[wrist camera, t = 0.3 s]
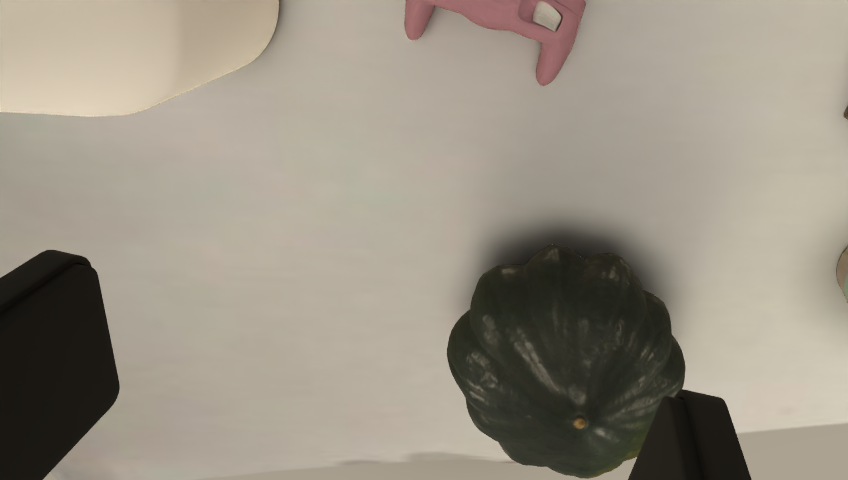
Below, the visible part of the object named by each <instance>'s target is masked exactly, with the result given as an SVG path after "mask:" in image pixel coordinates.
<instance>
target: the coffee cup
mask: <svg viewBox="0 0 848 480" xmlns="http://www.w3.org/2000/svg"><path fill="white" fill-rule="evenodd" d="M837 280H838V283H839V285H840V287H841V289H842V291H843V293H844V296H845V298H846V300H847V302H848V248H847V249H846V250H845V251H844V252H843V254H842V256H841V257H840V259H839V262H838V265H837Z"/></svg>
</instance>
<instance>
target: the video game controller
mask: <svg viewBox="0 0 848 480" xmlns="http://www.w3.org/2000/svg"><path fill="white" fill-rule="evenodd" d="M585 5H586V3H585V0H406V8H405V31H406V34H407V36H408V38H409V39H411V40H416V39H418V38H419V37H421V35H422V33H423V32H424V30H425V28H426V25H427V23H428V21H429V19H430V17H431V14H432V12H433V9H434V7H435V6H438V7H441V8H444V9H447V10H450V11H454V12H457V13H460V14H462V15H463V16H465V17H466V18H468V19H469V20H470V21H472V22H474V23H476V24H477V25H479V26H482V27H485V28H488V29H494V30H508V31H512V32H515V33H517V34H520V35H523V36H525V37H528V38H531V39H534V40H537V41H540V42H541V51H540V55H539V59H538V64H537V68H536V78H537V81H538V83H539V84H540V85H543V86H544V85H547V84H549V83H550V82H551V81H552V80H553V79H554V78H555V77H556V75H557V74H558V72H559V70H560V69H561V67H562V65H563V63H564V62H565V60H566V58H567V56H568V55H569V53H570V51H571V49H572V46H573V44H574V41H575V37H576V34H577V31H578V28H579V24H580V21H581V18H582V15H583V12H584V8H585Z"/></svg>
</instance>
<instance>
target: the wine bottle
mask: <svg viewBox="0 0 848 480" xmlns="http://www.w3.org/2000/svg"><path fill="white" fill-rule="evenodd" d="M278 12H279V0H0V112H12V113H36V114H54V115H69V116H84V117H89V116H120V115H129V114H133V113H136V112H140V111H143V110H146V109H148V108H151V107H153V106H155V105H158V104H160V103H162V102H164V101H167V100H169V99H171V98H173V97H176V96H178V95H180V94H183V93H185V92H187V91H189V90H192V89H194V88H196V87H198V86H201V85H203V84H205V83H208V82H210V81H212V80H214V79H217V78H219V77H221V76H223V75H226V74H228V73H230V72H233V71H235V70H237V69H239V68H242V67H244V66H245V65H247V64H249V63H251V62H252V61H254V60H255V59H256V58H257V57H258V56H259V55H260V54H261V53H262V52H263V50H264V49H265V48H266V46H267V45H268V44H269V42H270V40H271V38H272V36H273V33H274V31H275V28H276V24H277V20H278Z"/></svg>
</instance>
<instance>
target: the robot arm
mask: <svg viewBox="0 0 848 480" xmlns="http://www.w3.org/2000/svg"><path fill="white" fill-rule="evenodd" d="M119 388H120V387H119V380H118V375H117V369H116V364H115V359H114V354H113V349H112V344H111V339H110V334H109V329H108V324H107V319H106V314H105V309H104V304H103V299H102V294H101V289H100V284H99V279H98V275H97V272H96V270H95V269H94V268H92V267H91V264H90V262H89V261H88V260H87V258H85V257H82V256H79V255H74V254H70V253H65V252H61V251H56V250H46V251H44V252H42V253H40V254H38V255H37V256H35V257H33V258H32V259H30V260H29V261H27V262H25V263H24V264H22V265H21V266H19V267H17V268H16V269H14V270H13V271H11V272H9V273H8V274H6V275H5V276H3V277H1V278H0V480H43V479H44V478H45V477H46V475H47V474H48V473H49V472H50V471H51V470H52V469H53V468H54V467H55V466H56V465H57V464H58V463H59V462H60V461H61V460H62V458H63V457H64V456H65V455H66V454H67V453H68V452H69V451H70V450H71V449H72V448H73V447H74V446H75V445H76V444H77V443H78V442H79V440H80V439H81V438H82V437H83V436H84V435H85V434H86V433H87V432H88V431H89V430H90V429H91V428H92V427H93V426H94V425H95V423H96V422H97V421H98V420H99V419H100V418H101V417H102V416H103V415H104V414H105V413H106V412H107V411H108V410H109V409H110V408H111V406H112V405H113V404H114V402H115V400H116V399H117V396H118V393H119ZM628 480H751V477H750V474H749V471H748V468H747V465H746V462H745V459H744V456H743V453H742V450H741V447H740V444H739V441H738V438H737V435H736V432H735V429H734V426H733V423H732V420H731V417H730V414H729V411H728V408H727V405H726V403H725V401H724V400H723V399H722V398H719V397H715V396H710V395H706V394H701V393H697V392H692V391H688V390H679V391H678V392H677V394H676V396H675V397H669V396H664V397H663V398H662V400H661V402H660V405H659V407H658V409H657V412H656V414H655V416H654V419H653V421H652V424H651V426H650V428H649V431H648V433H647V436H646V438H645V440H644V443H643V445H642V448H641V450H640V452H639V455H638V457H637V459H636V462H635V464H634V467H633V469H632V472H631V474H630V476H629V479H628Z"/></svg>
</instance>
